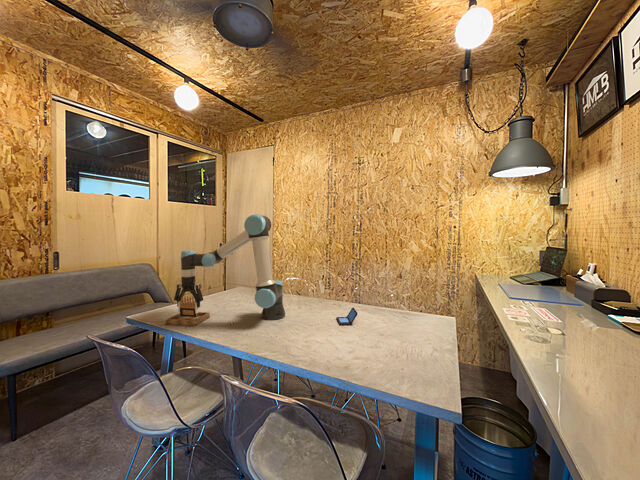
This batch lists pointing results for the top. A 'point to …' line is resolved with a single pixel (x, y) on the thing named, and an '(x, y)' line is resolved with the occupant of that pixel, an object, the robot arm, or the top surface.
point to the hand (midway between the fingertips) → (188, 312)
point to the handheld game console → (347, 318)
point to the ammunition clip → (188, 307)
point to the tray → (187, 319)
